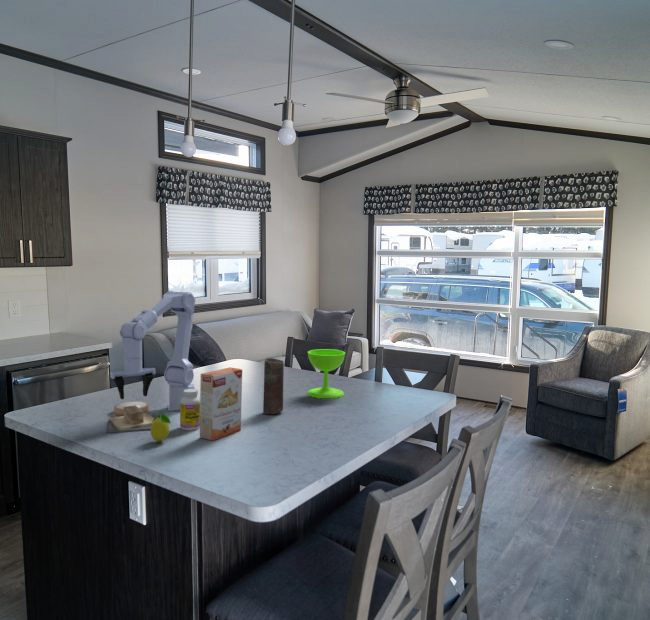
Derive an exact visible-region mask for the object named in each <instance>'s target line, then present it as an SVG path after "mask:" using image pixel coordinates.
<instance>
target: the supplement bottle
mask: <svg viewBox="0 0 650 620" xmlns="http://www.w3.org/2000/svg"><path fill="white" fill-rule="evenodd" d="M183 394H184V397H183V398H182V399H181V401H180V410H179V412H180V413H179V417H180V418H179V419H180V420H179V428H180V429H181V430H183V431H196V430H198V429H199V430H200V397H198V394H199V390H198V389H195V388H194V389H186V390H184V391H183Z"/></svg>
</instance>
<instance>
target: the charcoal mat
mask: <svg viewBox="0 0 650 620" xmlns="http://www.w3.org/2000/svg"><path fill="white" fill-rule="evenodd" d="M149 415H150V416H152V417H153V418H154V417H155V416H156V415H157V414H149ZM158 418H159V417H158ZM158 418H156V419H158ZM151 426H152V425H151ZM151 426H145V427H139V428H132V429H126V430H120V431H119V430H118V429H117V428H116V427H115V426H114V425H113V424H112V423H111V422H110V421H109V420H108V426H107V434H115V433H128V432H140V431H141V432H143V431H151Z"/></svg>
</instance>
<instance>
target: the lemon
mask: <svg viewBox="0 0 650 620" xmlns="http://www.w3.org/2000/svg"><path fill="white" fill-rule="evenodd" d="M158 412H159V413H158V414H159V415H158V414H155V415H156V416H155V417H154V419H153V421H154V420H155V419H156V418H158V419H156V420H155V421H154V422H153V424H152V426H151V430H150V435H151V438H152V439H153V440H155V441H157V442H159V443H162V441H164V440H166V439H167V438H168V436H169V434H170V425H169V424H171V420H170V418H169V417H168V416H167V415H166V414H165V413H161V410H159V411H158Z"/></svg>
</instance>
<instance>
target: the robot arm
mask: <svg viewBox="0 0 650 620" xmlns="http://www.w3.org/2000/svg"><path fill="white" fill-rule="evenodd" d="M195 304H196V298H195V296H194V294H193V292H191V291H173V290H168V291H167V292H166V293H164V294H163V295H162V299H161V300H160V301H158V302H157V303H156V304H155V305H154V306H153V307H152V308H151V309H143V310H142V311H141V313H139V314H138V315H136V317H133V318H132V320H131V321H126V322H124V323H123V324H122V325H121V326H120V327H121V328H120V330H119V335H120V336H121V338H122V343H123V353H124V354H123V365H124V366H123V367H124V368H123V369H120V370H115V371H110V372H109V375H110V377H109V378H110V379H112V380H113V382H114V384H115V385H116V387H117V389H118V394H119V398H120V400H124V399H125V391H124V389H125V380H124V378H126V377H127V378H128V377H136V376H142V377H141V378H142V395H143V396H144V397H147V396H148V393H149V388H150V386H151V383H152V382H153V380H154V375H156V374H157V372H156V368H155V367H143V339H144V338H145V336H146V334H147V332H148V330H149V329H151V328H152V327H153V326H154V325H155V324H156V323H157V322H158V318H159V317H160V316H162V315H163V314H164V313H165V312H167V311H169V310H171V311H172V312H173V313H174V314H175V315H176V316H177V326H176V333H175V339H174V342H175V343H174V348H173V357H172V358H171V359H170V360H169V361H168V362H167V364H166V368H165V370H164V373H163V374H164V375H163V377H164V380H165V381H166V382H167V386H168V397H169V398H168V402H169V403H168V404H167V409H168V411H169V412H170V411H171V412H172V411H180V401H181V399H182V398H183V397H184V394H183V391H184V390H186V389H195V384H194V383H192V382H193V380H194V377H195V376H194V375H195V373H194V365H193V363H192V362H190V361H189V352H190V346H191V345H190V344H191V343H190V342H191V336H192V330H193V329H192V328H193V322H194V321H193V319H194V313H195Z"/></svg>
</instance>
